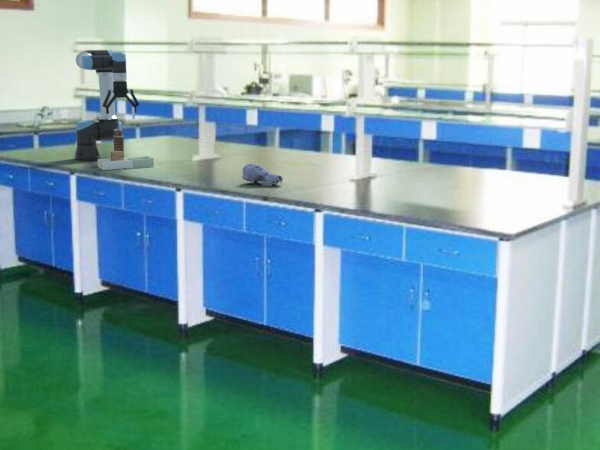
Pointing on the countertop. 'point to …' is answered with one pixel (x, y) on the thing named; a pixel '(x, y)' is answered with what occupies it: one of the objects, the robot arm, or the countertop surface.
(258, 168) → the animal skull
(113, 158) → the walnut block
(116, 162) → the lane box
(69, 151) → the countertop surface
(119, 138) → the miniature building
